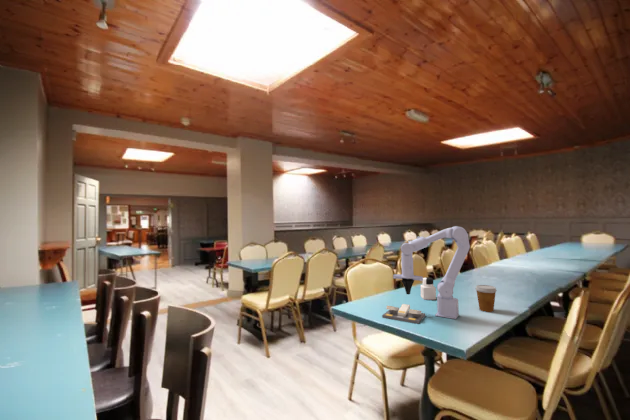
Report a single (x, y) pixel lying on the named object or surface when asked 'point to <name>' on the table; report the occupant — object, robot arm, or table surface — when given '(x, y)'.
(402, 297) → the table surface
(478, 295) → the disposable coffee cup
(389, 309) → the rocker
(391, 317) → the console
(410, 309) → the block
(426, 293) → the medicine bottle
